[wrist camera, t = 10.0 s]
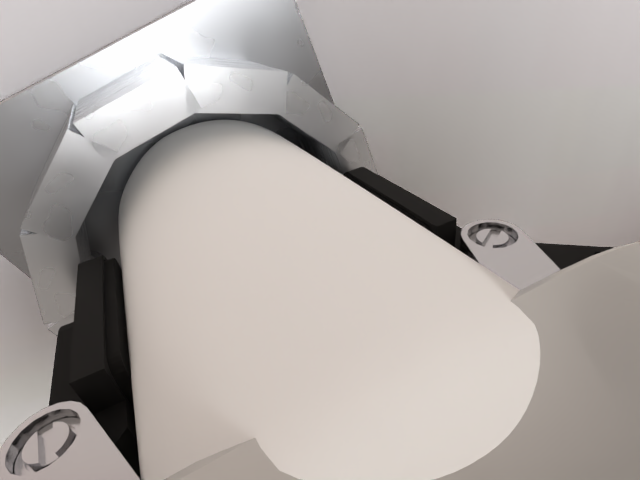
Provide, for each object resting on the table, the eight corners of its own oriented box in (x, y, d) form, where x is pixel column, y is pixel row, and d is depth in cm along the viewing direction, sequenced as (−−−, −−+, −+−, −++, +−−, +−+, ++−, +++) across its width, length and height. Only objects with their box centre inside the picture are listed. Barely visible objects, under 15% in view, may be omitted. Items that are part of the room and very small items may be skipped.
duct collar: (371, 228, 18) (428, 271, 15) (164, 371, 17) (180, 452, 14) (266, -40, 12) (328, -60, 9) (-96, 152, 10) (-181, 212, 7)
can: (212, 67, 11) (799, 318, 2) (342, 196, 15) (734, 483, 6) (67, 236, 12) (-70, 1206, 2) (231, 320, 16) (437, 782, 6)
